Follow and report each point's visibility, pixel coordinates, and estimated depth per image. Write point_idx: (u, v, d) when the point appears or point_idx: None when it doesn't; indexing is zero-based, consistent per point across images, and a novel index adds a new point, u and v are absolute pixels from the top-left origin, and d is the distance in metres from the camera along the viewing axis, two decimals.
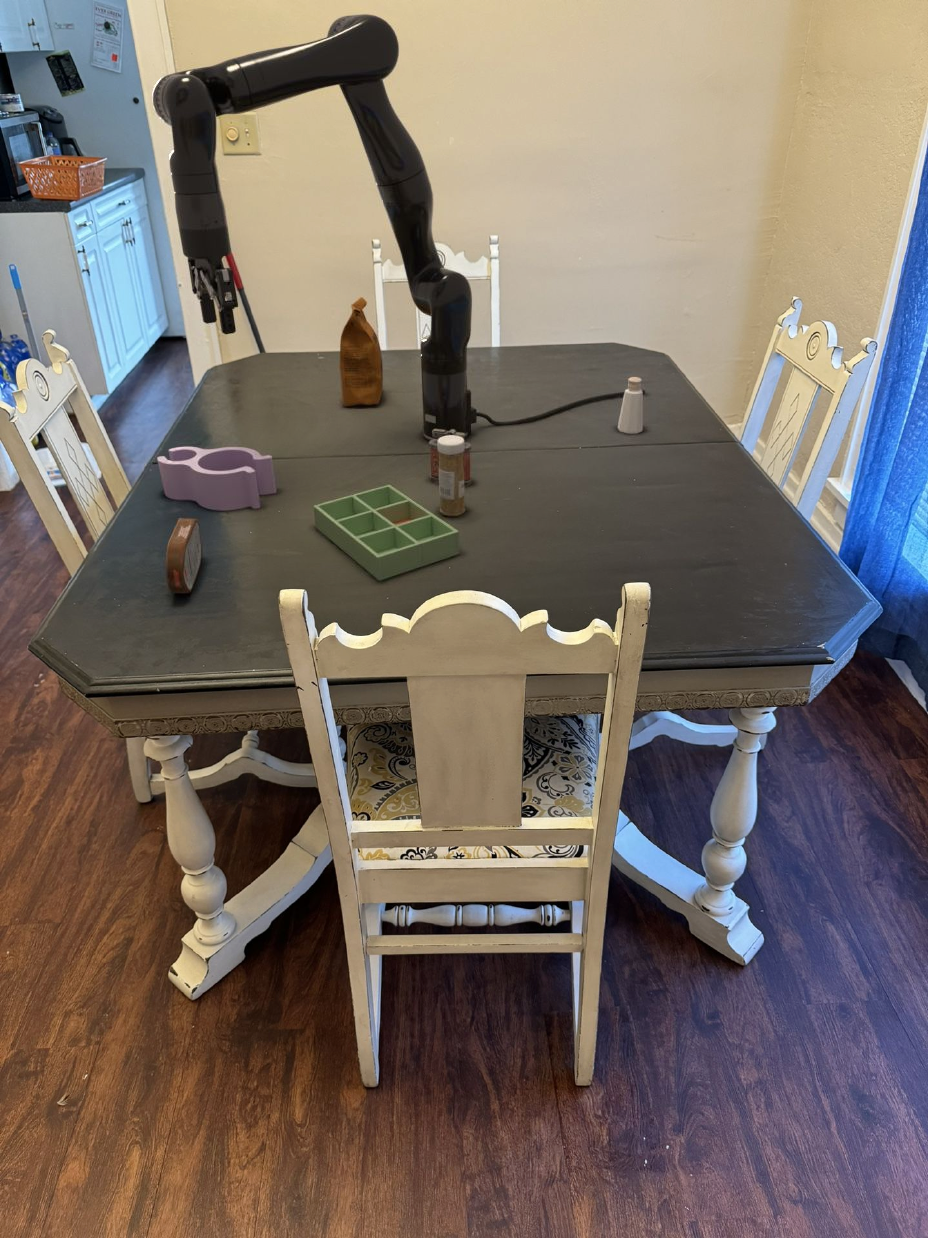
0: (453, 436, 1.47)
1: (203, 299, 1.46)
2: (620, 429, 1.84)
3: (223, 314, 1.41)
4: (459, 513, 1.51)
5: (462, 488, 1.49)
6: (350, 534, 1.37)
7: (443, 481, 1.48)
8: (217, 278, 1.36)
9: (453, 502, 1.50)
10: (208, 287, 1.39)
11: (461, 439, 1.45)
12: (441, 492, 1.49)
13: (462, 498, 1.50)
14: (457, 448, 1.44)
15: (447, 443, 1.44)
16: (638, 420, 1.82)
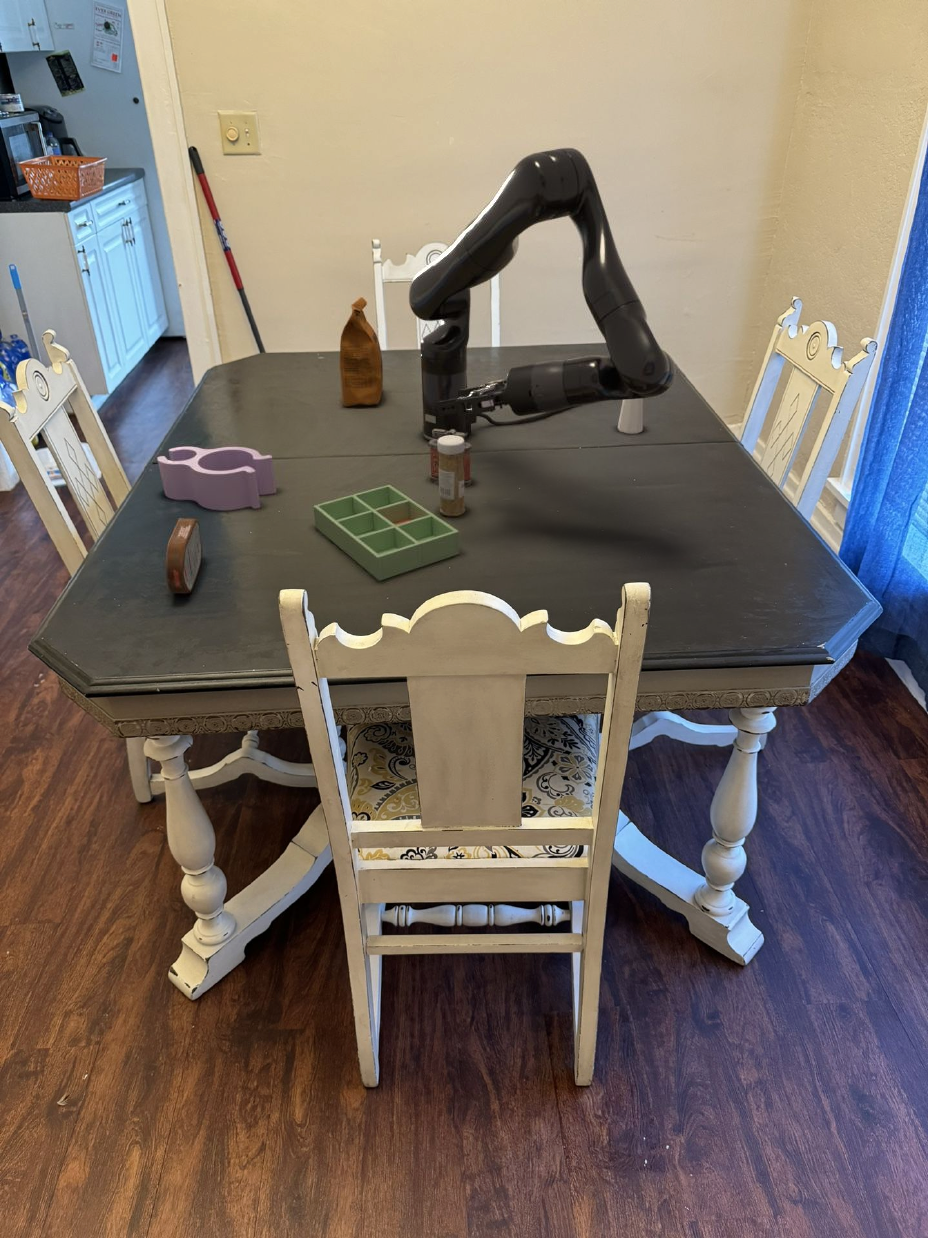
0: (453, 436, 1.47)
1: None
2: (620, 429, 1.84)
3: None
4: (459, 513, 1.51)
5: (462, 488, 1.49)
6: (350, 534, 1.37)
7: (443, 481, 1.48)
8: None
9: (453, 502, 1.50)
10: None
11: (461, 439, 1.45)
12: (441, 492, 1.49)
13: (462, 498, 1.50)
14: (457, 448, 1.44)
15: (447, 443, 1.44)
16: (638, 420, 1.82)
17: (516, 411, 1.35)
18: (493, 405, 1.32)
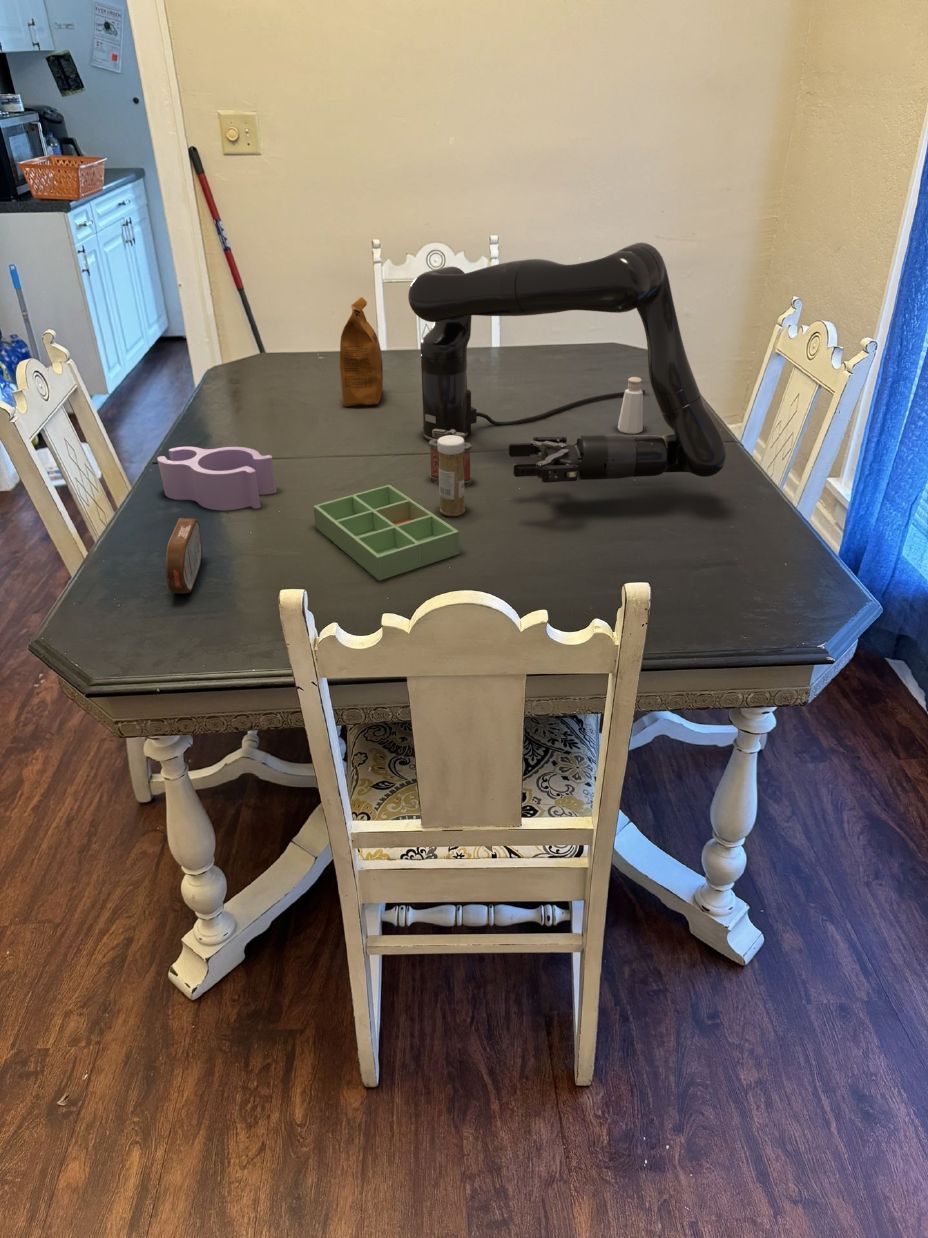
0: (453, 436, 1.47)
1: None
2: (620, 429, 1.84)
3: None
4: (459, 513, 1.51)
5: (462, 488, 1.49)
6: (350, 534, 1.37)
7: (443, 481, 1.48)
8: None
9: (453, 502, 1.50)
10: None
11: (461, 439, 1.45)
12: (441, 492, 1.49)
13: (462, 498, 1.50)
14: (457, 448, 1.44)
15: (447, 443, 1.44)
16: (638, 420, 1.82)
17: (585, 478, 1.48)
18: (577, 475, 1.43)
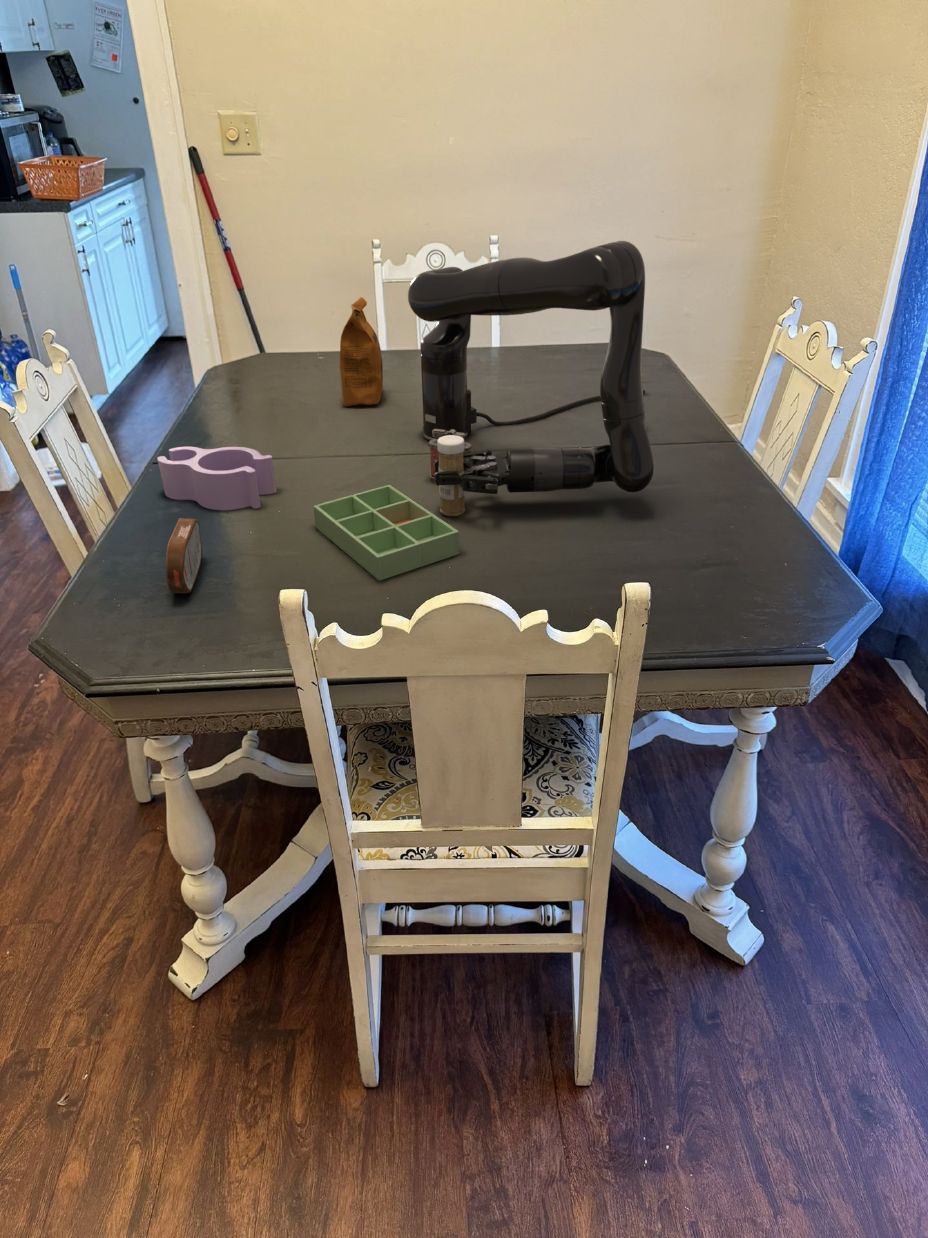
0: (453, 436, 1.47)
1: None
2: None
3: None
4: (459, 513, 1.51)
5: None
6: (350, 534, 1.37)
7: None
8: None
9: (453, 502, 1.50)
10: None
11: (461, 439, 1.46)
12: (441, 492, 1.49)
13: (462, 498, 1.50)
14: (457, 448, 1.44)
15: (447, 443, 1.44)
16: None
17: (513, 490, 1.48)
18: (496, 489, 1.44)
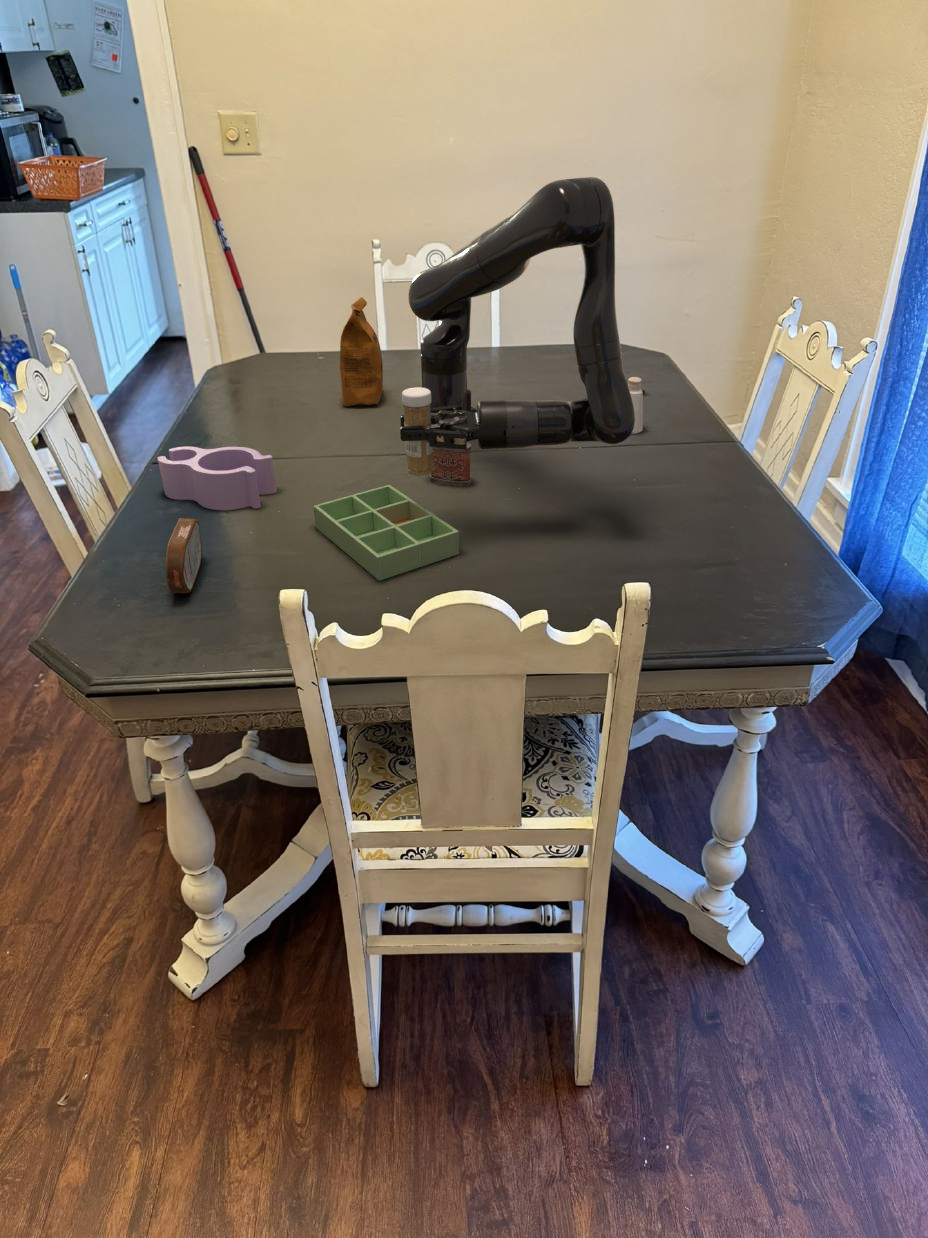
0: (419, 388, 1.36)
1: None
2: None
3: None
4: (427, 472, 1.41)
5: None
6: (350, 534, 1.37)
7: None
8: None
9: (421, 460, 1.39)
10: None
11: (427, 391, 1.35)
12: (407, 449, 1.39)
13: (430, 456, 1.40)
14: (423, 400, 1.34)
15: (412, 394, 1.34)
16: (638, 420, 1.82)
17: (485, 446, 1.38)
18: (465, 443, 1.34)
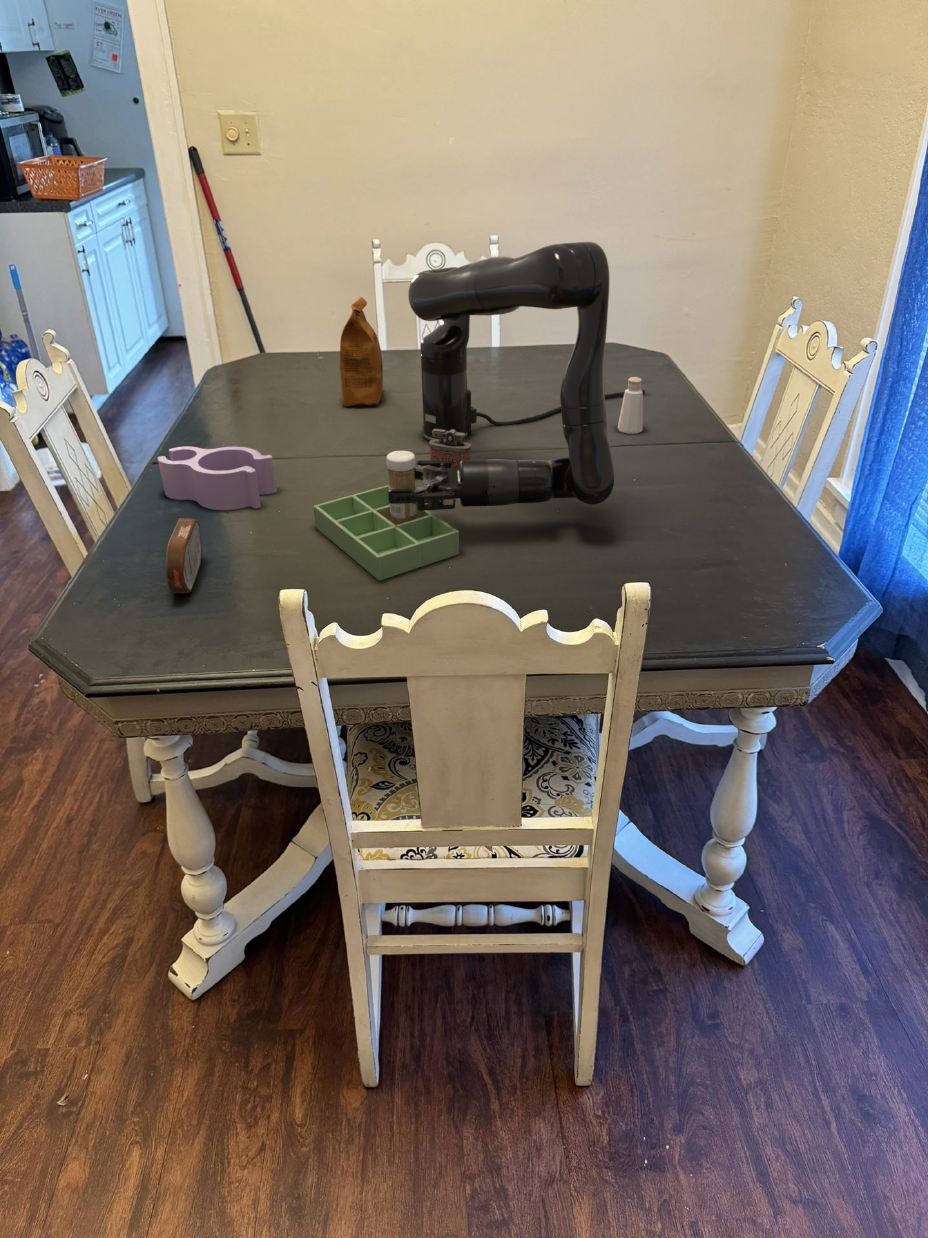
0: (403, 451, 1.39)
1: None
2: (620, 429, 1.84)
3: None
4: None
5: (414, 506, 1.42)
6: (350, 534, 1.37)
7: None
8: None
9: (405, 521, 1.42)
10: None
11: (411, 455, 1.38)
12: (392, 510, 1.42)
13: (414, 516, 1.43)
14: (407, 464, 1.37)
15: (396, 459, 1.36)
16: (638, 420, 1.82)
17: (466, 504, 1.40)
18: (454, 503, 1.36)
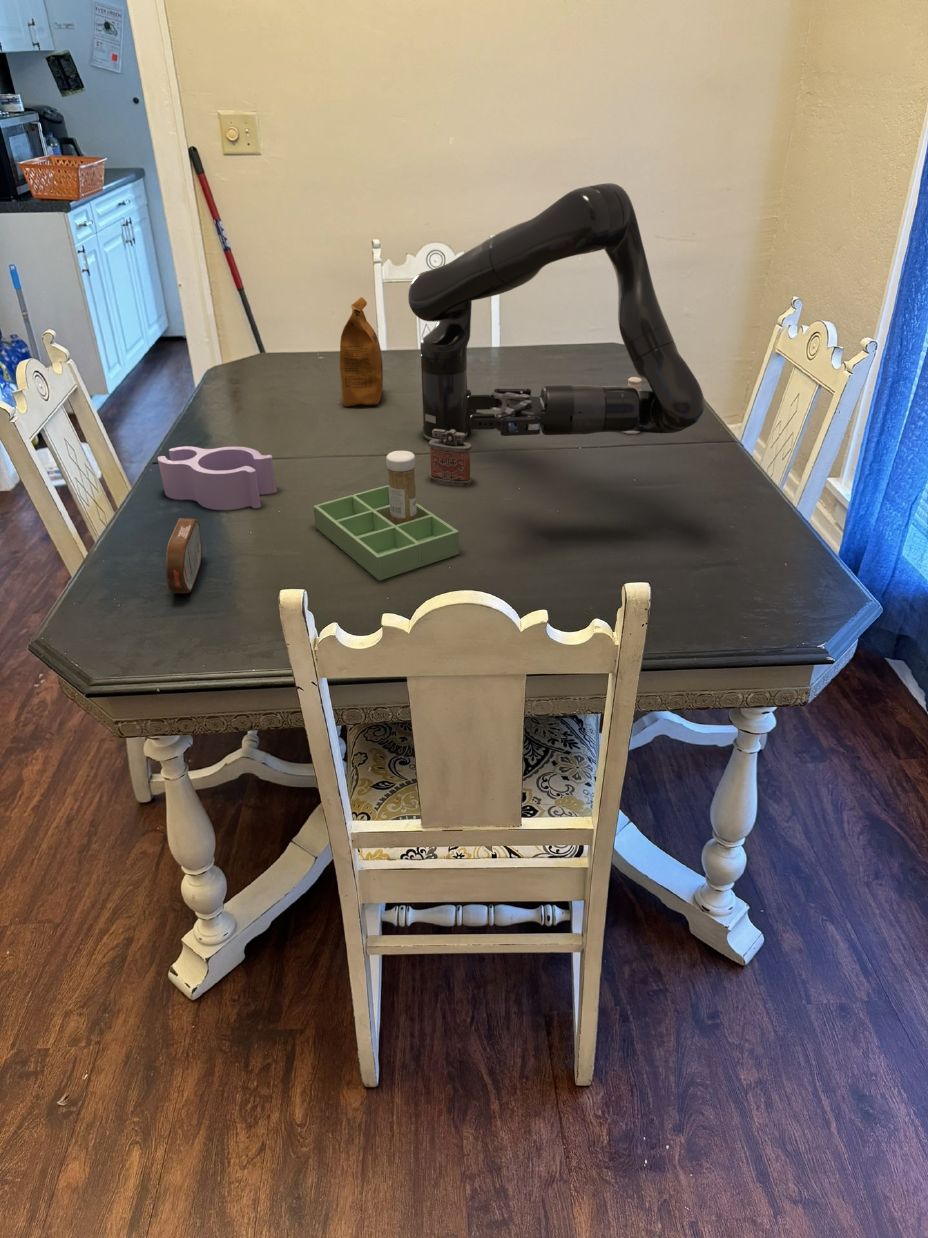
0: (403, 451, 1.39)
1: None
2: None
3: None
4: None
5: (414, 506, 1.42)
6: (350, 534, 1.37)
7: (393, 499, 1.40)
8: None
9: (405, 521, 1.42)
10: None
11: (411, 455, 1.38)
12: (392, 510, 1.42)
13: (414, 516, 1.43)
14: (407, 464, 1.37)
15: (396, 459, 1.36)
16: None
17: (549, 432, 1.34)
18: (539, 428, 1.30)
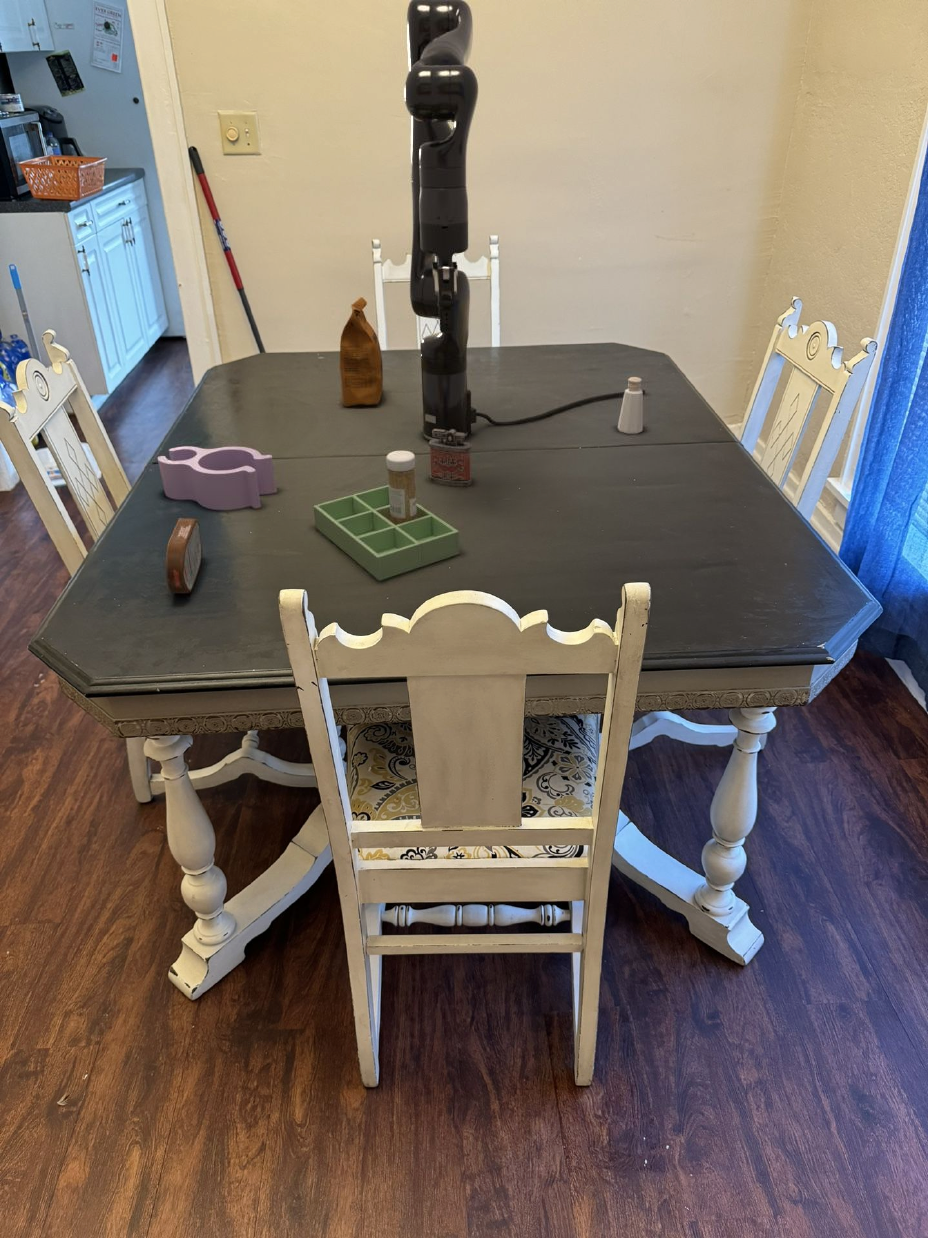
0: (403, 451, 1.39)
1: None
2: (620, 429, 1.84)
3: None
4: None
5: (414, 506, 1.42)
6: (350, 534, 1.37)
7: (393, 499, 1.40)
8: None
9: (405, 521, 1.42)
10: None
11: (411, 455, 1.38)
12: (392, 510, 1.42)
13: (414, 516, 1.43)
14: (407, 464, 1.37)
15: (396, 459, 1.36)
16: (638, 420, 1.82)
17: (461, 247, 1.34)
18: (448, 266, 1.32)
